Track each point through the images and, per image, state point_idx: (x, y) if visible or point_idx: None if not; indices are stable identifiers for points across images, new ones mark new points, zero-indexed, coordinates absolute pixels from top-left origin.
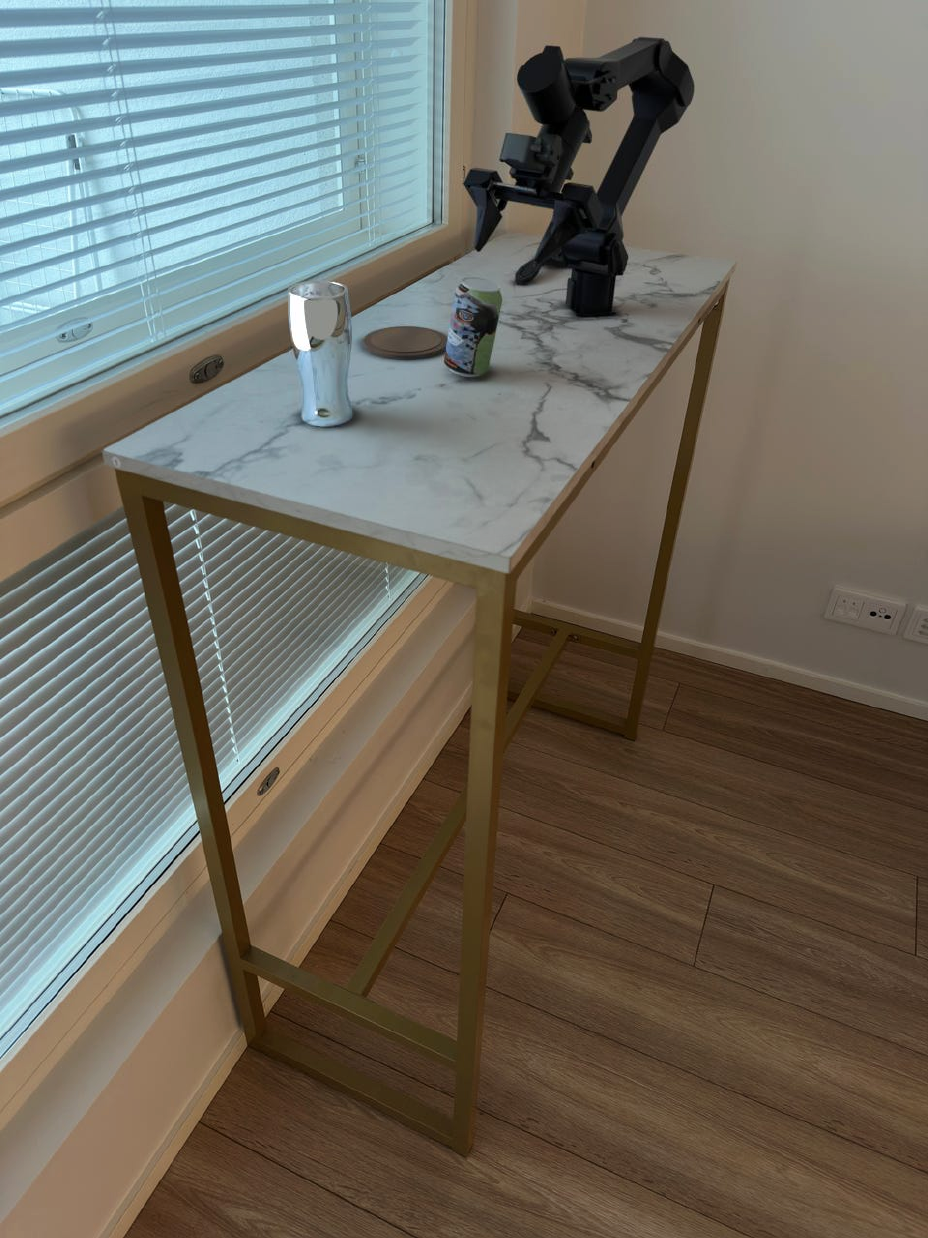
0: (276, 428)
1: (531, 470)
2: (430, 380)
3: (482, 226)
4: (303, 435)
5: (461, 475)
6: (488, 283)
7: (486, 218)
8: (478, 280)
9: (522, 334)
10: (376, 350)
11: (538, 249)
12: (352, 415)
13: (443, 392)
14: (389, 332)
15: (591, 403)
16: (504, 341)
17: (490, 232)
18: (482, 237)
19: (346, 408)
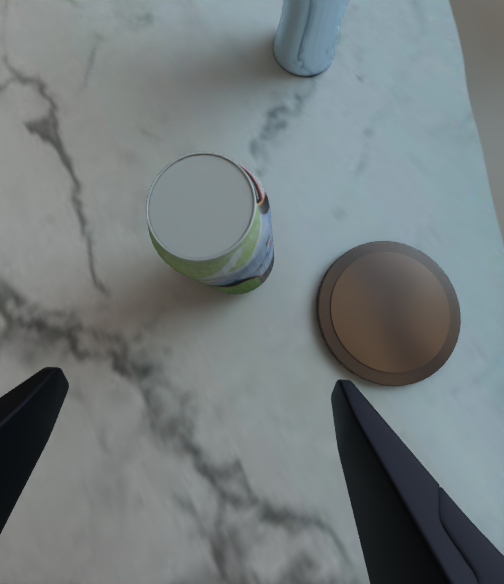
0: None
1: (16, 51)
2: None
3: (380, 464)
4: None
5: (84, 8)
6: (192, 236)
7: (407, 540)
8: (223, 230)
9: (248, 485)
10: (396, 244)
11: (22, 396)
12: (278, 62)
13: None
14: (434, 322)
15: (14, 262)
16: (257, 427)
17: (363, 531)
18: (350, 433)
19: (277, 34)
